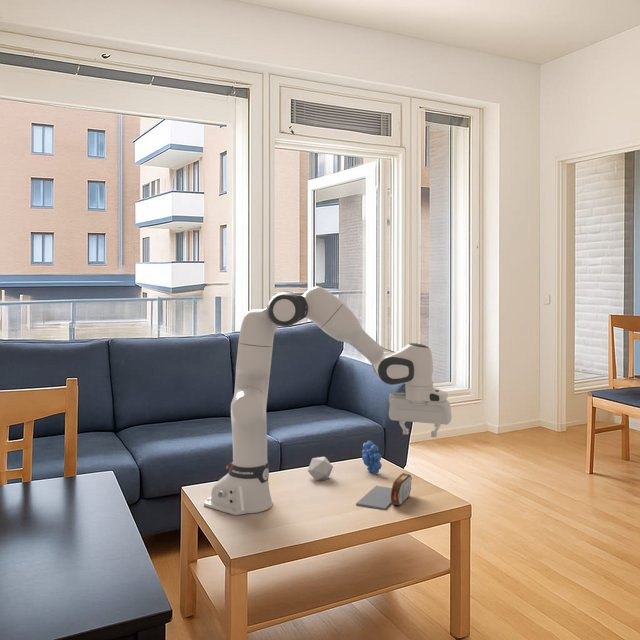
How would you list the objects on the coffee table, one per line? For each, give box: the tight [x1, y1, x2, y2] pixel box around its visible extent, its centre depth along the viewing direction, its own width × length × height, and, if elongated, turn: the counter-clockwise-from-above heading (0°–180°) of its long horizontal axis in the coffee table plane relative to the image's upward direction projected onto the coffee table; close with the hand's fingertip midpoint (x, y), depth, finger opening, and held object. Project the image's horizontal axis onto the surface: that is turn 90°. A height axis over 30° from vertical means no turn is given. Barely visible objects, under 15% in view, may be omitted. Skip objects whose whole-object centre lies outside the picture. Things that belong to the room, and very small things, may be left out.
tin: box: [391, 472, 413, 506], centre depth 205 cm, size 15×3×8 cm, turn 155°
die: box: [307, 456, 334, 482], centre depth 229 cm, size 8×9×10 cm
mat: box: [355, 485, 393, 511], centre depth 208 cm, size 10×19×1 cm, turn 155°
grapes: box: [361, 440, 383, 475], centre depth 235 cm, size 12×7×12 cm, turn 29°
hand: (419, 435), depth 201 cm, fingers open, 8 cm apart
